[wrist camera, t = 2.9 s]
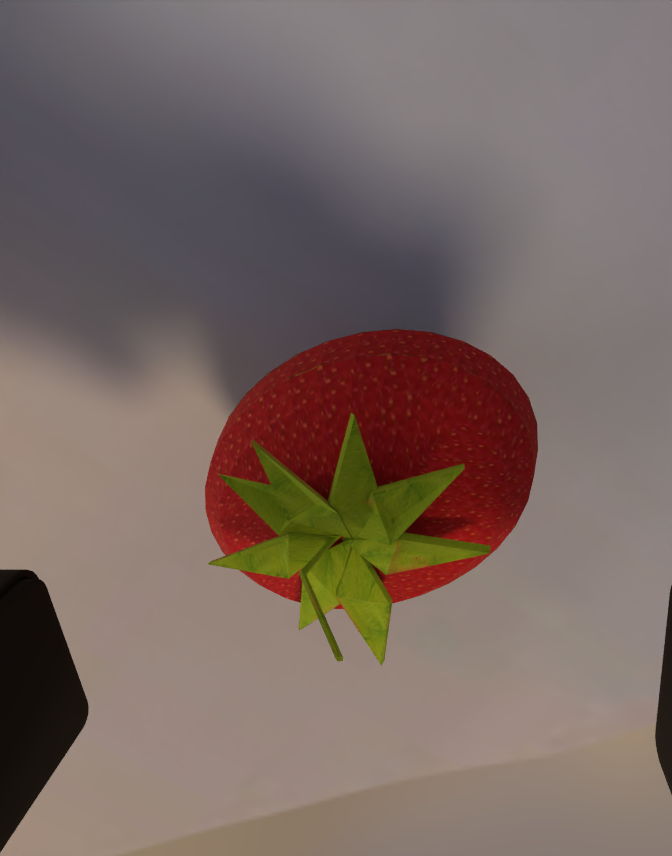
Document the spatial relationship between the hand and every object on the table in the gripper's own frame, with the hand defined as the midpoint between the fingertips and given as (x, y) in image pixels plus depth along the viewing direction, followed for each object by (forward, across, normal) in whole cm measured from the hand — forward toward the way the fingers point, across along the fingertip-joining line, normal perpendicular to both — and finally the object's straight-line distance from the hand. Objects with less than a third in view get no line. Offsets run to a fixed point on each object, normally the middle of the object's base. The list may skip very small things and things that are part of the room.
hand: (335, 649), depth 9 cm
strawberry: (+10, 0, -1) cm, 10 cm away
